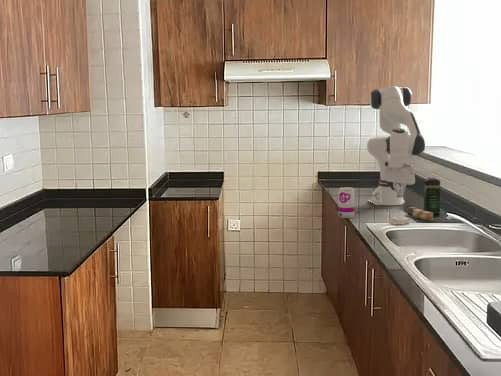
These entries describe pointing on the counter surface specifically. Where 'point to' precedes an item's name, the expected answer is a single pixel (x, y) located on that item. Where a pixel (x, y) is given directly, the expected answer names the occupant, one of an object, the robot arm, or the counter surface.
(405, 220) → the socket
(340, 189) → the supplement can
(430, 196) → the coffee jar
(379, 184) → the robot arm
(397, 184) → the locking pin
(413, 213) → the oak leg
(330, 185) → the counter surface
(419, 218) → the hinge plate
